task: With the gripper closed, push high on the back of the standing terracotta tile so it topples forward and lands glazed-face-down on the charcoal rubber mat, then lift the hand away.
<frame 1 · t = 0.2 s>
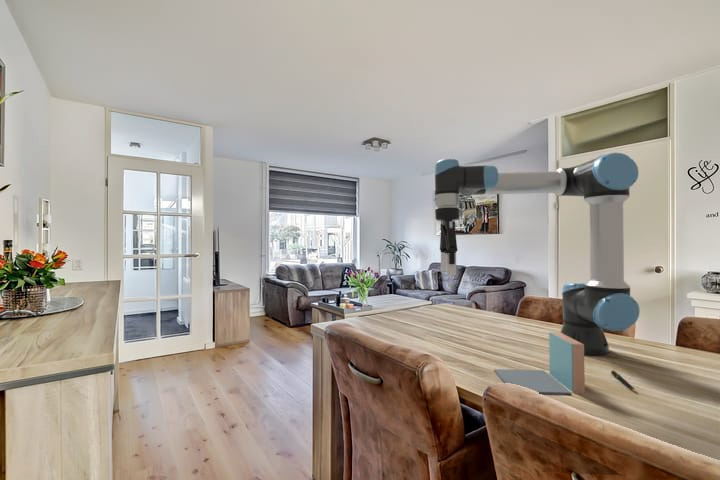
hand: (448, 273, 112), 28 cm above the table, fingers open, 13 cm apart
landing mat: (529, 381, 93), on the table
glazed tile: (566, 382, 92), on the table
fountain pen: (622, 384, 92), on the table
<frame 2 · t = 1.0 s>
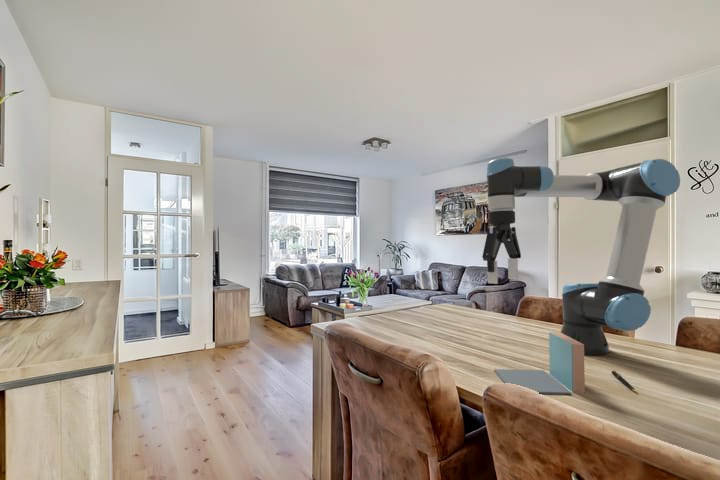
hand: (503, 281, 104), 26 cm above the table, fingers open, 13 cm apart
nothing on the table moved.
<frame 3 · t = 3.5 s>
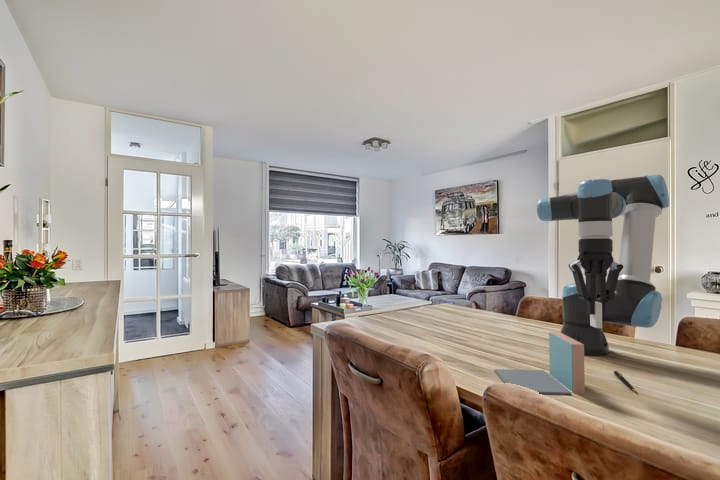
hand: (596, 326, 91), 15 cm above the table, fingers closed
nothing on the table moved.
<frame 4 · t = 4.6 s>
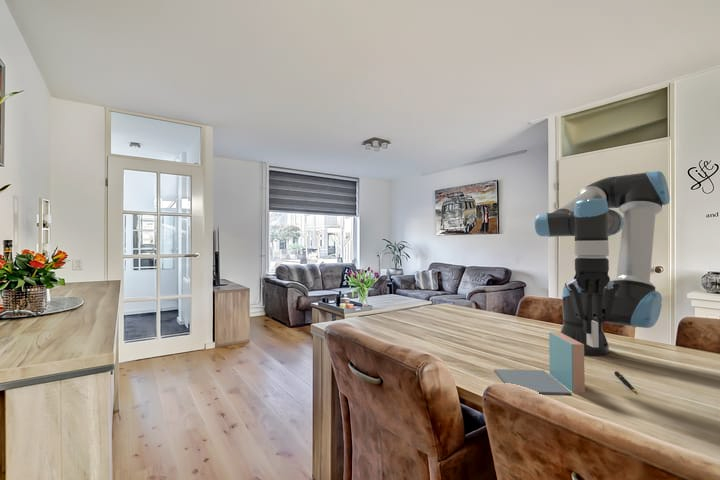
hand: (592, 345, 91), 10 cm above the table, fingers closed
nothing on the table moved.
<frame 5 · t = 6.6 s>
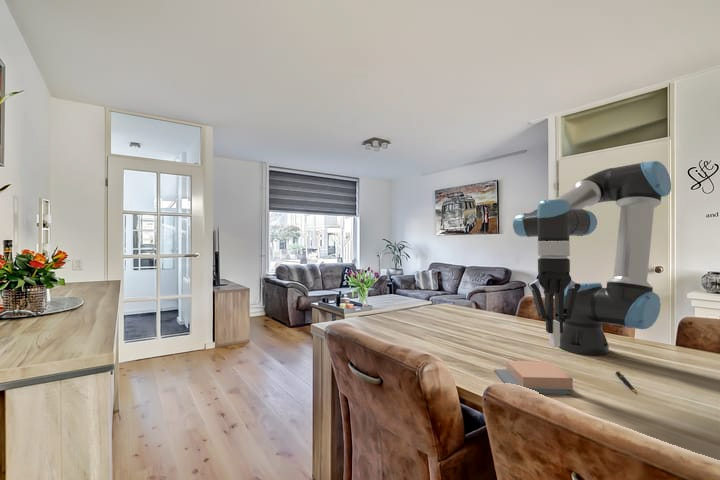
hand: (554, 345, 92), 10 cm above the table, fingers closed
glazed tile: (560, 375, 92), point 2 cm above the table, tilted 90°, touching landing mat
everything else where it was.
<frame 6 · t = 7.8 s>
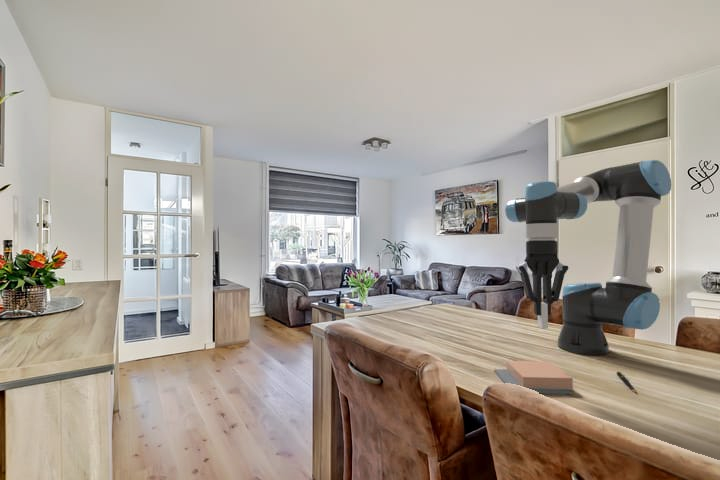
hand: (542, 327, 93), 15 cm above the table, fingers closed
nothing on the table moved.
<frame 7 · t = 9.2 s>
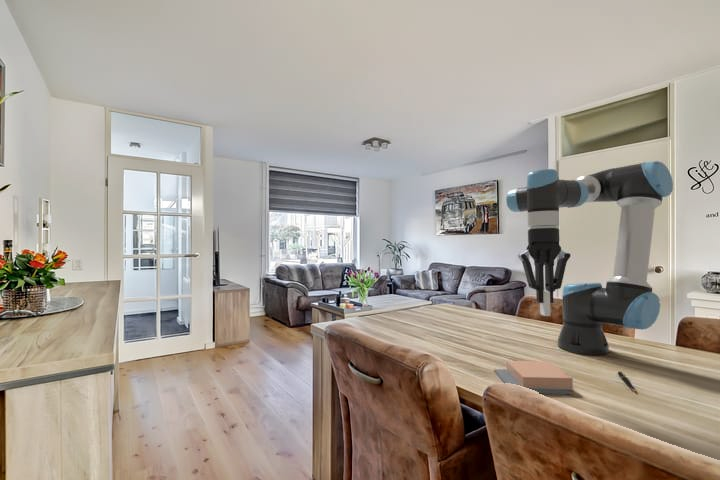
hand: (545, 315, 93), 18 cm above the table, fingers closed
nothing on the table moved.
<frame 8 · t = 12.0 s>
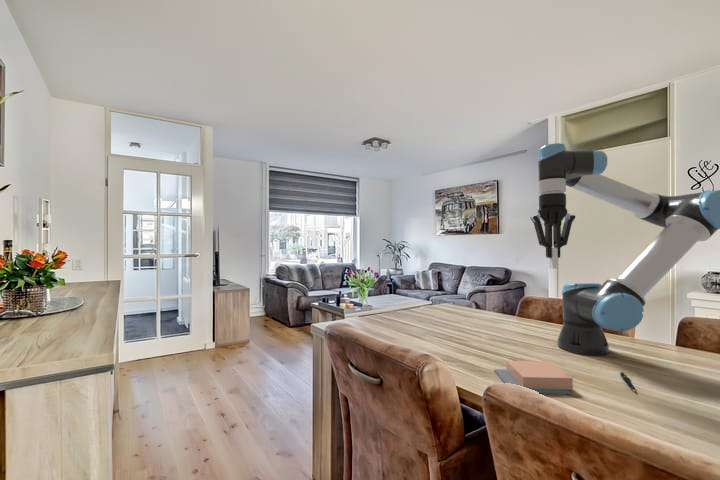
hand: (553, 268, 109), 29 cm above the table, fingers closed
at the end: glazed tile tilted 90°; glazed tile inside the target area (1.6 cm from its centre), point 2.0 cm above the table; glazed tile touching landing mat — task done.
